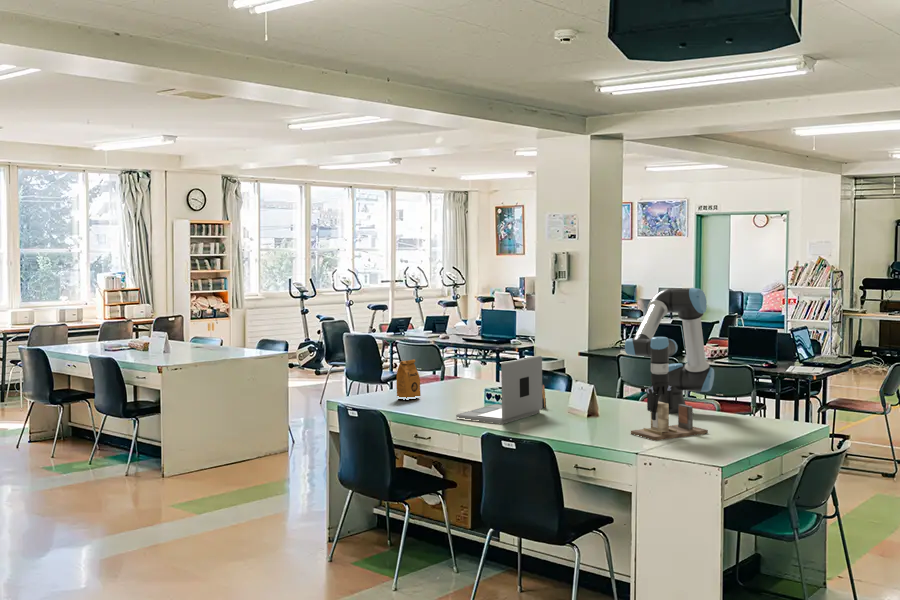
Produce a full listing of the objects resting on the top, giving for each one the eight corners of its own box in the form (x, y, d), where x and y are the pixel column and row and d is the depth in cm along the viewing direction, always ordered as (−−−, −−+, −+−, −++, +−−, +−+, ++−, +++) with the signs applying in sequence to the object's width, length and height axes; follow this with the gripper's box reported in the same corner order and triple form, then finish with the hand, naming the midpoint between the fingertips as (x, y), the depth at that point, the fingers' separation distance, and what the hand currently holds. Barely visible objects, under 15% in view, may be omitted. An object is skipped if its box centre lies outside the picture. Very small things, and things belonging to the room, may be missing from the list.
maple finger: (658, 428, 391) (658, 401, 390) (669, 431, 385) (669, 403, 384) (650, 429, 389) (650, 402, 388) (661, 432, 383) (661, 404, 382)
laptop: (495, 408, 462) (494, 352, 460) (543, 413, 445) (542, 355, 444) (455, 419, 432) (454, 360, 431) (505, 425, 416) (504, 363, 415)
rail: (682, 427, 403) (682, 401, 402) (707, 433, 388) (707, 407, 388) (630, 434, 390) (630, 407, 389) (654, 440, 375) (654, 413, 375)
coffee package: (423, 399, 494) (422, 359, 493) (406, 402, 485) (405, 361, 484) (411, 397, 501) (410, 358, 500) (394, 400, 492) (393, 360, 491)
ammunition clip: (546, 407, 460) (545, 384, 460) (543, 408, 459) (543, 384, 458) (530, 405, 468) (530, 382, 467) (528, 405, 467) (527, 383, 466)
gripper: (649, 375, 378) (649, 430, 379) (681, 372, 386) (681, 426, 387) (638, 373, 385) (638, 427, 386) (669, 370, 393) (670, 423, 394)
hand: (660, 426), depth 387 cm, fingers closed on maple finger, 4 cm apart
